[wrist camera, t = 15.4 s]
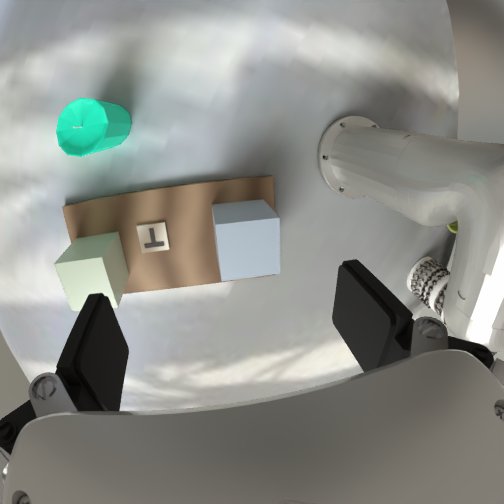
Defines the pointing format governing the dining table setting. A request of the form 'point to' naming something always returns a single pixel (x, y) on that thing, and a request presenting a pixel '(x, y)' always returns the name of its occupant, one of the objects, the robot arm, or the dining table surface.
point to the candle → (91, 126)
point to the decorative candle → (430, 284)
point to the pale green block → (93, 269)
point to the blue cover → (246, 239)
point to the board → (166, 229)
